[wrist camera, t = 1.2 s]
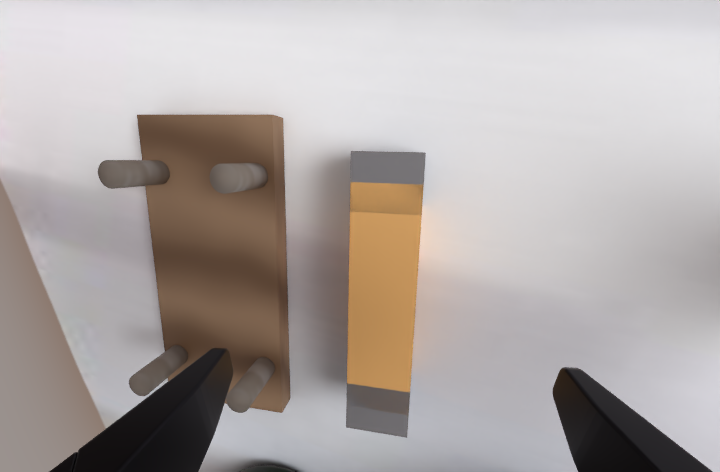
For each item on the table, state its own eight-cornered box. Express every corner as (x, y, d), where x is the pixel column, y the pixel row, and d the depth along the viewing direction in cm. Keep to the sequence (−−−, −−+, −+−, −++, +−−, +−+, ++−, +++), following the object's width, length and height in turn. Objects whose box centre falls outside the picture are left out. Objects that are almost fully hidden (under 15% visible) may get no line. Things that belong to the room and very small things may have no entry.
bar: (409, 391, 23) (407, 437, 19) (358, 384, 24) (346, 427, 20) (425, 154, 20) (425, 152, 16) (364, 153, 20) (351, 151, 16)
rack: (290, 398, 25) (258, 454, 20) (183, 381, 27) (130, 429, 22) (282, 118, 21) (240, 105, 16) (155, 117, 22) (81, 105, 17)
